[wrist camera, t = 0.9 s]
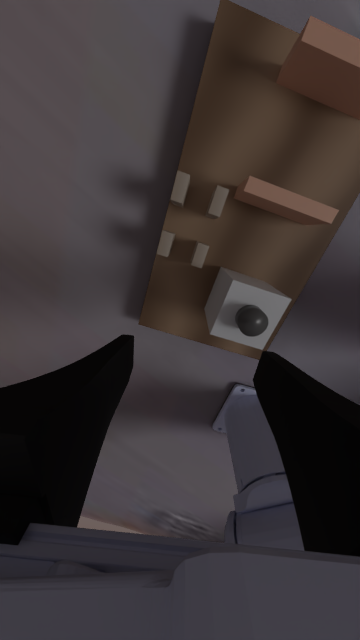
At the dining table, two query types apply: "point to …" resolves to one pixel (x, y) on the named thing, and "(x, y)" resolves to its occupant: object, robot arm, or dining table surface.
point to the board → (237, 165)
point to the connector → (244, 308)
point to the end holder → (320, 85)
